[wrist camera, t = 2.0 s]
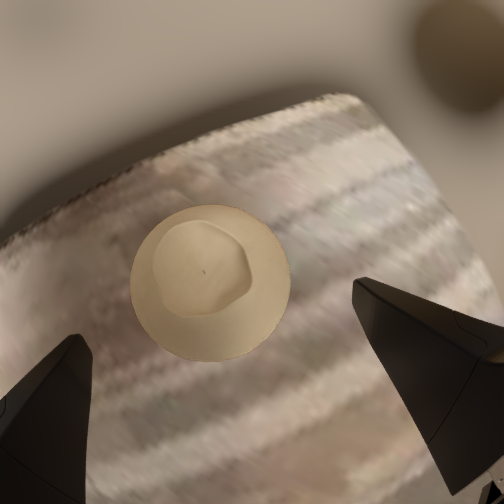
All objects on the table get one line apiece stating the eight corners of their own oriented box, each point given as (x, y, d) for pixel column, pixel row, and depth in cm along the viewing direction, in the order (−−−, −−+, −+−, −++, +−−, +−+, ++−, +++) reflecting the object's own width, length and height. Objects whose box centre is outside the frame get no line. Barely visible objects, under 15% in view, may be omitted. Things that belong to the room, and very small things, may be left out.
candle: (286, 296, 18) (328, 232, 9) (241, 375, 17) (236, 400, 7) (210, 254, 19) (179, 158, 10) (164, 327, 18) (82, 295, 8)
